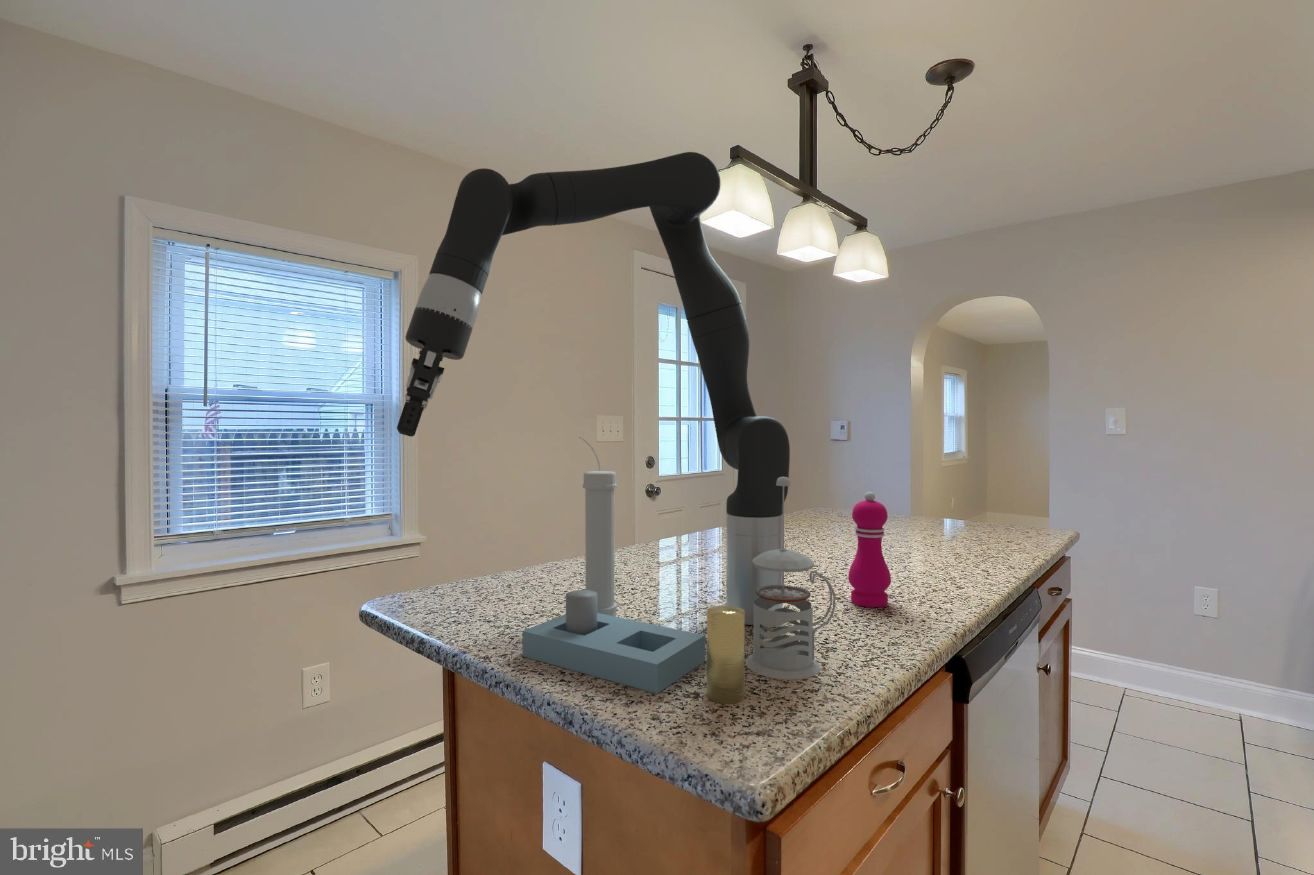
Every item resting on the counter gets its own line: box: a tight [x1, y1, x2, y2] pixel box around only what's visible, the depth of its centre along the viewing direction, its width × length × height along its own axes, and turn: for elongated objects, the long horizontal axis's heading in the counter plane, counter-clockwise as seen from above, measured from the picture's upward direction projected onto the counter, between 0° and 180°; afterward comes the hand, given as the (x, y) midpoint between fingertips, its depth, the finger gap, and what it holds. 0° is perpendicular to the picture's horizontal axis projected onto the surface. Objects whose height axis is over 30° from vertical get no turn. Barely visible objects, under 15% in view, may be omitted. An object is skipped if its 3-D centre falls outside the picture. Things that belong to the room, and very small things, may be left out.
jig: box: [522, 589, 706, 695], centre depth 83 cm, size 12×22×8 cm, turn 57°
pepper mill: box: [847, 491, 892, 608], centre depth 109 cm, size 7×7×20 cm
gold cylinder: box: [706, 604, 746, 705], centre depth 71 cm, size 4×4×10 cm
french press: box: [745, 477, 836, 681], centre depth 81 cm, size 10×12×25 cm
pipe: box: [578, 436, 618, 617], centre depth 99 cm, size 6×6×30 cm
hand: (405, 434), depth 78 cm, fingers open, 8 cm apart
